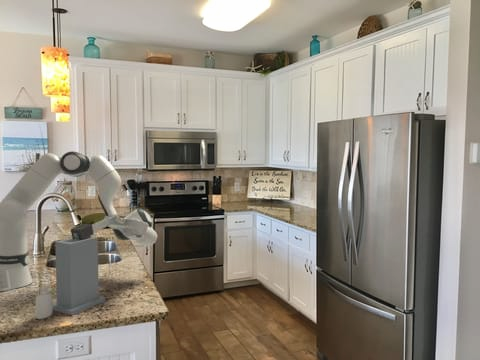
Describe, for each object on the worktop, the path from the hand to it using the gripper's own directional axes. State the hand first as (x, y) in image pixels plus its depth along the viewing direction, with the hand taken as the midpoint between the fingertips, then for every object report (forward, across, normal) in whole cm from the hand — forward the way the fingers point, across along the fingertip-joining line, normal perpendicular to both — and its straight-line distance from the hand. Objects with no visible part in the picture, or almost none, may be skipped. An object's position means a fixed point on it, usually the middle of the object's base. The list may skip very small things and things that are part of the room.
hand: (112, 217), depth 166 cm
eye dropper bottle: (+11, -2, +43) cm, 45 cm away
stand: (0, 0, +37) cm, 37 cm away
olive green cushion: (-107, -118, -24) cm, 160 cm away
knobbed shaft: (+5, 0, +7) cm, 8 cm away
